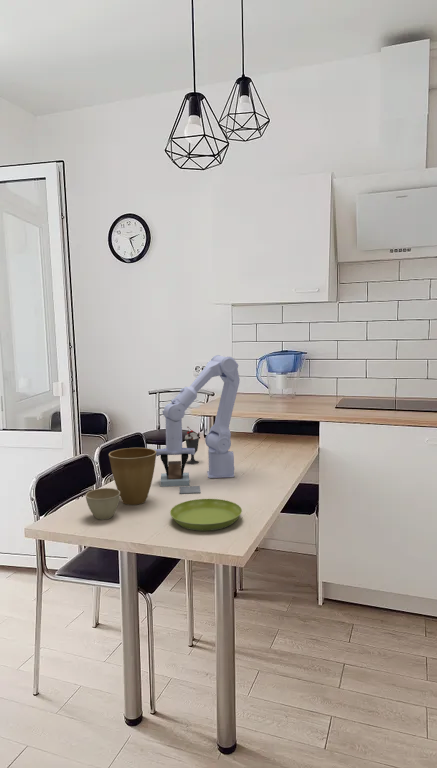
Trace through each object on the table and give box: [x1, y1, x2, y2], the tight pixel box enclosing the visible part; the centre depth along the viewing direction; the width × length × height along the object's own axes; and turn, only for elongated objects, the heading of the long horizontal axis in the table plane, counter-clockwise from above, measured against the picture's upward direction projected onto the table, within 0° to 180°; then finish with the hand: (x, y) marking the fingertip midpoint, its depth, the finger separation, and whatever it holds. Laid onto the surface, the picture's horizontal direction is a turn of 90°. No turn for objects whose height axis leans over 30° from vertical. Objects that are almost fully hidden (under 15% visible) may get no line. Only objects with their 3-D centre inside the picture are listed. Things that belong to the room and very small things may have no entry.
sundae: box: [183, 426, 201, 465], centre depth 224 cm, size 7×7×15 cm
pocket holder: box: [160, 472, 190, 487], centre depth 199 cm, size 10×10×2 cm
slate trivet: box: [178, 485, 202, 495], centre depth 189 cm, size 7×7×1 cm
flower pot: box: [85, 487, 121, 521], centre depth 165 cm, size 10×10×7 cm
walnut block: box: [168, 460, 182, 479], centre depth 199 cm, size 4×4×7 cm
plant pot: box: [108, 447, 157, 506], centre depth 178 cm, size 15×15×16 cm
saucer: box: [169, 498, 243, 532], centre depth 162 cm, size 21×21×3 cm
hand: (174, 474), depth 199 cm, fingers closed on walnut block, 4 cm apart
